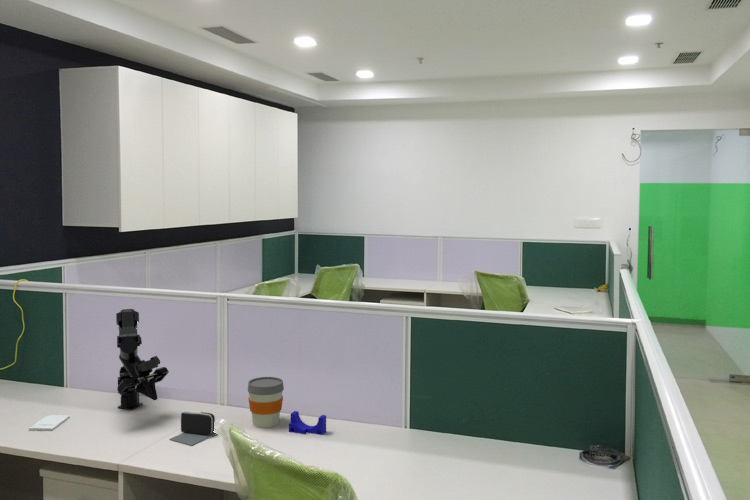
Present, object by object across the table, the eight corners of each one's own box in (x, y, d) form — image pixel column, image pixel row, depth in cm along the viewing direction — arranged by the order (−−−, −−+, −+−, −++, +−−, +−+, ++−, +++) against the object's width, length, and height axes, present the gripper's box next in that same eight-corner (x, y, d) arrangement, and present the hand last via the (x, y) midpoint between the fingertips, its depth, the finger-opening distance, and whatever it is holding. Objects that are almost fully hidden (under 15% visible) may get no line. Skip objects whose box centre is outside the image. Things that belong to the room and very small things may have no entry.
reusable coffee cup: (272, 431, 225) (272, 389, 224) (240, 426, 230) (240, 384, 228) (290, 419, 237) (290, 379, 235) (260, 414, 241) (259, 374, 240)
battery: (186, 429, 226) (216, 432, 224) (180, 432, 223) (210, 436, 220) (186, 409, 226) (216, 412, 223) (180, 412, 223) (211, 415, 220)
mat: (169, 439, 217) (169, 438, 217) (200, 426, 230) (200, 425, 230) (191, 446, 213) (191, 445, 213) (221, 431, 225) (221, 431, 225)
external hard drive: (69, 419, 237) (52, 432, 224) (47, 419, 237) (28, 432, 225) (69, 415, 237) (52, 428, 224) (47, 414, 237) (28, 427, 224)
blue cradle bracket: (288, 432, 225) (288, 415, 225) (294, 427, 230) (294, 410, 229) (320, 437, 221) (320, 419, 221) (326, 432, 226) (326, 415, 225)
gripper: (121, 356, 222) (145, 393, 218) (164, 344, 238) (187, 379, 234) (106, 375, 227) (130, 412, 222) (149, 363, 243) (172, 397, 238)
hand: (156, 399), depth 229 cm, fingers closed
